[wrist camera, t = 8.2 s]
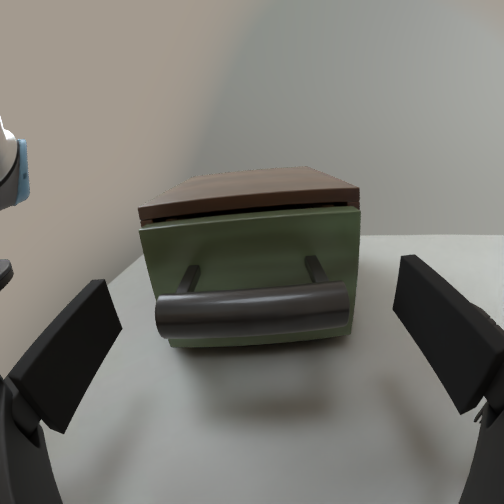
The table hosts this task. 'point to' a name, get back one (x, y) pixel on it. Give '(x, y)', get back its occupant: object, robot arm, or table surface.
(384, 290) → the table surface
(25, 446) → the robot arm
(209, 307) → the drawer
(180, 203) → the cabinet
